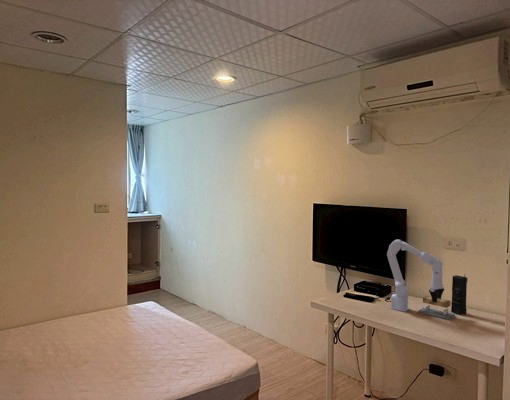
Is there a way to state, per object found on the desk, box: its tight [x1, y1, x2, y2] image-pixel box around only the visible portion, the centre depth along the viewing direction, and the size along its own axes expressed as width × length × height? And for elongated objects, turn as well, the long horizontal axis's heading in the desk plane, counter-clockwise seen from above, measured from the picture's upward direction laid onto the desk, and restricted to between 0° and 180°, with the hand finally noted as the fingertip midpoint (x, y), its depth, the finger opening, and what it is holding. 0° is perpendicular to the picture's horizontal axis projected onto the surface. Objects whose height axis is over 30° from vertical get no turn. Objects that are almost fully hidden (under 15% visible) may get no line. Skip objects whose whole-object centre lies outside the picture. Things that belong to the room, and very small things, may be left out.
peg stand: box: [417, 304, 456, 321], centre depth 226 cm, size 18×10×4 cm, turn 44°
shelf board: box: [422, 295, 451, 309], centre depth 226 cm, size 14×6×3 cm, turn 43°
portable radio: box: [450, 274, 468, 316], centre depth 229 cm, size 8×6×25 cm
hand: (436, 301), depth 226 cm, fingers closed on shelf board, 5 cm apart
